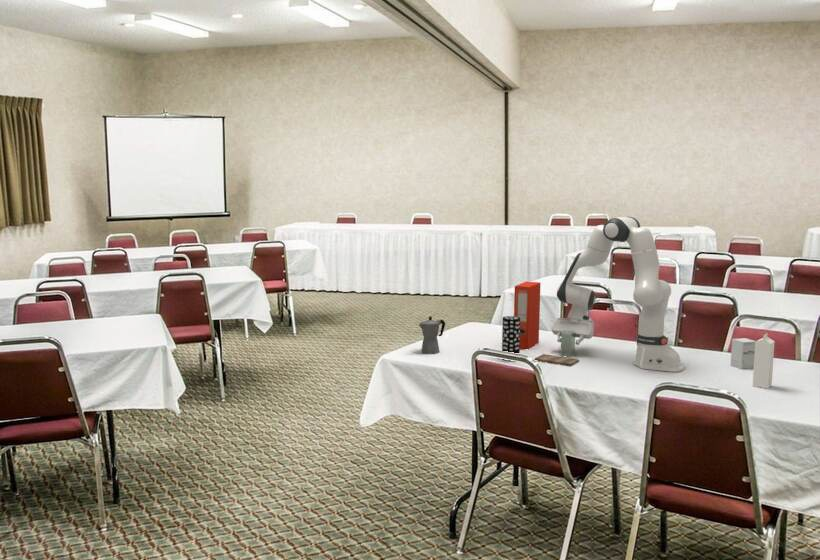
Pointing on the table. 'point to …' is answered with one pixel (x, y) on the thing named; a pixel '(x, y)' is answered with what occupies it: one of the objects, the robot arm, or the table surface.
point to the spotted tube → (511, 334)
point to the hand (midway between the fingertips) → (567, 342)
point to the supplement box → (743, 353)
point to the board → (557, 360)
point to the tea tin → (568, 343)
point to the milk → (763, 362)
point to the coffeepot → (431, 335)
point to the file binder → (528, 312)
